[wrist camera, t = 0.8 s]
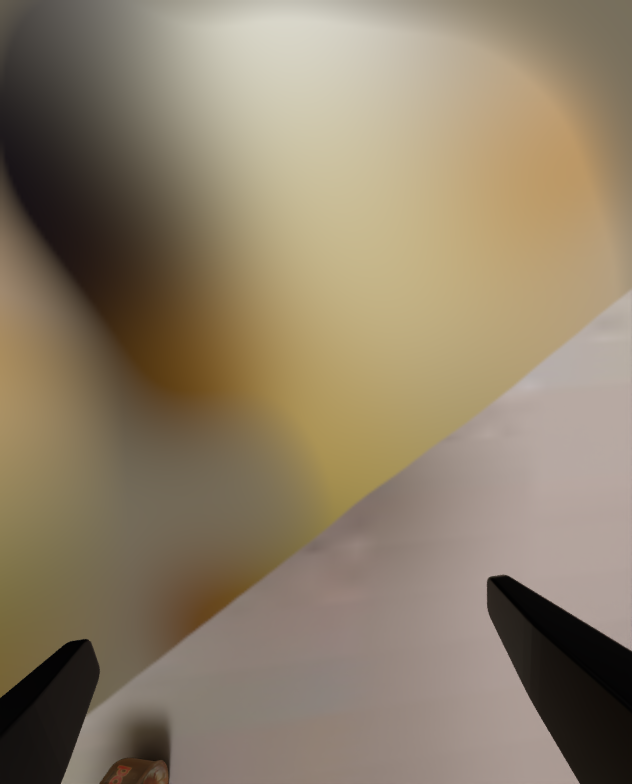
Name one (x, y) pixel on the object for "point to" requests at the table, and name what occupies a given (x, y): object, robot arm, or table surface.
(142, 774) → the tin
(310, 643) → the table surface
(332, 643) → the table surface
